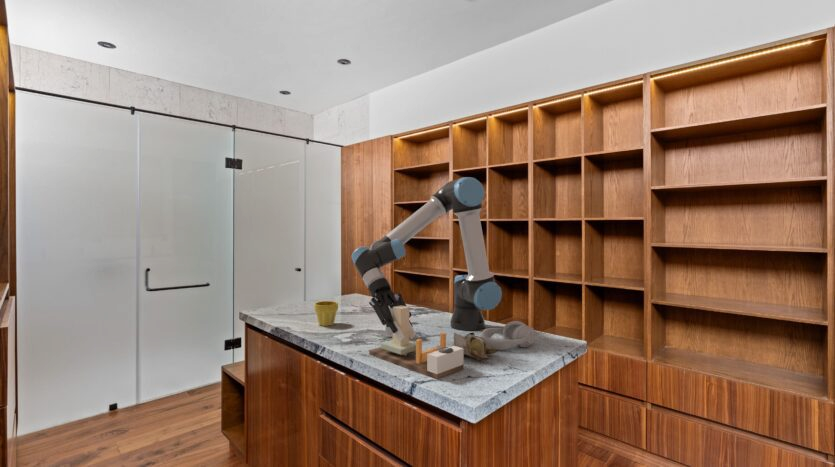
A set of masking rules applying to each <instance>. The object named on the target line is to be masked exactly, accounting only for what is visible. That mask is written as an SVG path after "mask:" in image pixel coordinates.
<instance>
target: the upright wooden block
mask: <svg viewBox="0 0 835 467" xmlns="http://www.w3.org/2000/svg"><path fill="white" fill-rule="evenodd" d="M409 311H410V306H407V305H406V306H402V305H401V306H395V307H393V322H394V321H396V322H397V324H398V325H399V327H400V329H401V331H402V332H403V334H404V336H405V338H404V340H403V341H402V342H399V340H398V338H397V337H396V335H395V333H393V337H392V340H389V341H386V342H381V344H380V345H381V346H380V347H381V348H382V349H385V350H388V351H391V352H394V353H397V354H400V355H405V356H406V355H407V353H409V352H414V353H415V350H416V341H412V340H410V336H409V320H410V318H409Z"/></svg>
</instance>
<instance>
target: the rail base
mask: <svg viewBox="0 0 835 467" xmlns="http://www.w3.org/2000/svg"><path fill="white" fill-rule="evenodd" d="M369 354H370V356H372V355H373V357H376V358H378V359H380V360H383V361H386V362H388V363H391V364H395V365H398V366H400V367H403V368H405V369H408V370H411V371H413V372H416V373H419V374H422V375H424V376H427V377H430V378H432V379H435V380H439V379H442V378H444V377H448V376H449V375H452V374H456V373H457V372H460V371H463V370H464V364H463V365H461V366H458V367H455V368H453V369H450V370H447V371H444V372H442V373H439V374H435V373H432V372H429V371H427V361H425V362H422V363H419V364H418V363H416V350H415V353H414V352H409V353H407V355H406V356H405V355H400V354H397V353H394V352H391V351H388V350H385V349H382V348H381V346H379V347H376V348H372V349H369V350H368V355H369Z"/></svg>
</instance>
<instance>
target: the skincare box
mask: <svg viewBox="0 0 835 467" xmlns="http://www.w3.org/2000/svg"><path fill="white" fill-rule="evenodd" d="M389 309H390V312H391V315H392V318H393V309H392V308H390V307H389ZM385 338H393V332H392V330H391V328H390V327H387V326H386V325H385Z"/></svg>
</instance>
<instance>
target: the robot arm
mask: <svg viewBox="0 0 835 467" xmlns="http://www.w3.org/2000/svg"><path fill="white" fill-rule="evenodd" d="M484 198H485V188H484V187H483V184H482V183H481V182H480V181H479V180H478V179H476V178H475V177H471V176H470V177H469V176H468V177H467V176H465V177H464V176H463V177H461V178H457V179H453V180H451V181H448V182H446V183H445V184H444V185H443V186H442V187H441V188H440V189H438V190H437V191H436V192H435V193H433V194H432V195H431V196H430V198H429V200H428V202H426V203H425V204H424V205H422V206H421V207H420V208H419V209H417V210H416V211H415V212H413V213H412V214H411V215H410V216H408V217H407V218H406V219H405V220H404V221H402V222H401V223H400V224H398V225H397V226H395V228H393V229H392V230H390V231H389V232H388V233H387V234H386V235H384V236H383V237H381V239H379V240H376V241H374V242H373V243H372V244H371V245H370V247H368V246H359V247H357V248H356V249H355V250H354V251H353V252H352V254H351V260H352V262H353V264H354V267H355V269H356V270H357V271H358V274H359V276H360V277H361V279H362V281H363V282H364V284H365V286H366V288H367V290H368V292H369V293H370V296H371V297H372V298H371V299H370V300H369V302H368V304H369V305H370V306H371V307H372V309H373V310H374V312H375V313H376V315H377V317H378V319H379V321H380V322H381V324H382V325H383V326H385V327H386V326H387V327H390V328H391V330H392V332H393V333H395V335H396V337H397V338H398V340H399V342H402V341H403V340H404V338H405V336H404V334H403V332H402V331H401V329H400V327H399V325H398V324H397V322H396V321H394V322H393V318H392V315H391V312H390V309H389V307H390V308H392V309H393V307H395V306H401V305H402V306H407V304H406V302H405V301H404V299H403V295H402V293H397V294H396V293H394V291H392V288H391V287H392V286H391V285H390V282H389V281H388V279H387V278H386V276H385V274H384V272H383V271H382V269H381V268H383V267H384V266H386V265H388V264H391V263H393V262H395V261H398V260H400V259H401V258H403V257H405V256H406V248H405V244H406V243H407V242H408V241H410V240H411V239H412V238H413V237H414V236H416V235H417V234H418V233H420V232H421V231H422V230H424V228H426V227H427V226H428V225H430V224H431V223H432V222H434V220H436V219H437V218H438V217H439V216H441V215H446V214H447V213H448V212H450V211H452V212H453V214H454V215H455V216H456V217H457V218H458V224H459V229H460V235H461V240H462V246H463V250H464V251H463V252H464V257H465V258H464V259H465V263H466V268H467V274H461V275H455V277H454V282H453V285H454V286H453V287H454V289H453V290H454V291H453V293H454V296H453V297H454V298H453V299H454V300H453V301H454V308H453V313H452V314H451V315H452V316H451V317H450V327H451V328H452V329H455V330H460V331H461V330H462V331H478V330H483V329H484V328H485V324H486V323H485V322H486V321H485V318H484V315H483V313H482V310H483V311H491V310H493V309H495V308H496V307H497V306H498V305H499V303H500V302H501V300H502V296H503V294H502V293H503V292H502V288H501V287H500V286H499V285H498V284H497V283H496V281H495V275H494V273H493V272H491V271H490V266H489V262H488V256H487V252H486V251H487V250H486V244H485V240H484V239H485V238H484V234H483V229H482V223H481V222H482V221H481V217H480V212H481V211H482V209H483V207H482V205H483V204H482V202H483V200H484ZM411 317H412V313H411V311H410V310H409V339H410V340H413V339H414V338H415V337H416V336H417V335H418V334H417V333H416V331H415V329H414V328H413V327H414V326H413V323H412V322H411V319H410V318H411Z"/></svg>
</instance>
